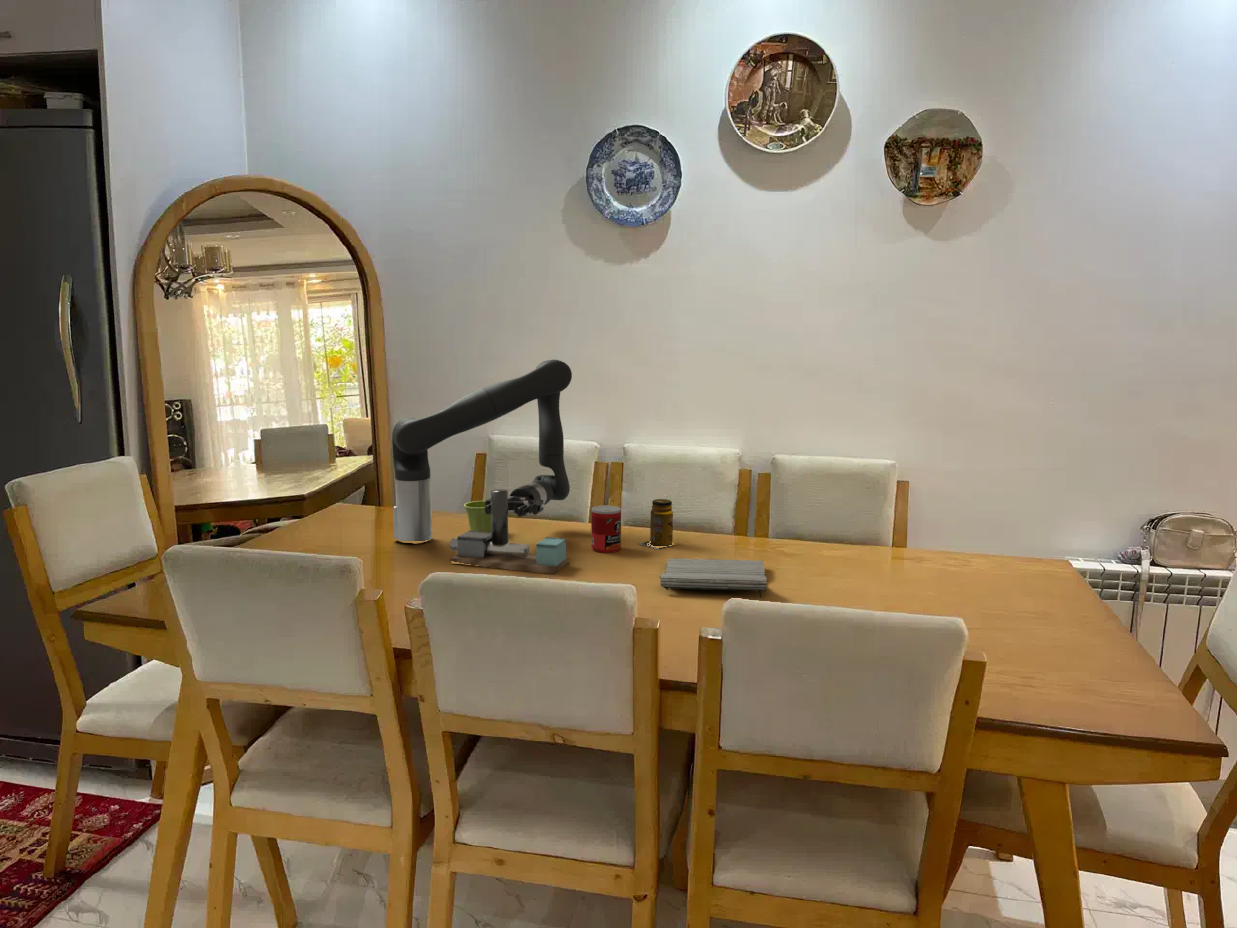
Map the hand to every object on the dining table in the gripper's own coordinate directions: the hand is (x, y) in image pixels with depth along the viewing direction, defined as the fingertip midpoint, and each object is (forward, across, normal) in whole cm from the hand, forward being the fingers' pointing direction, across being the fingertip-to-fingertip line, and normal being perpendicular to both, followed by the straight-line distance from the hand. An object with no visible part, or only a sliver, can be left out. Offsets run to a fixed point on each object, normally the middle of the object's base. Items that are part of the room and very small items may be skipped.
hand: (502, 511), depth 202 cm
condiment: (-27, +33, +13) cm, 45 cm away
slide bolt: (+2, -3, +11) cm, 11 cm away
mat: (0, +53, +13) cm, 55 cm away
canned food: (-18, +21, +13) cm, 31 cm away
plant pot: (-22, -17, +13) cm, 31 cm away
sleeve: (+2, -7, +11) cm, 13 cm away
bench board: (+2, +2, +12) cm, 13 cm away
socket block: (+2, +13, +11) cm, 17 cm away
